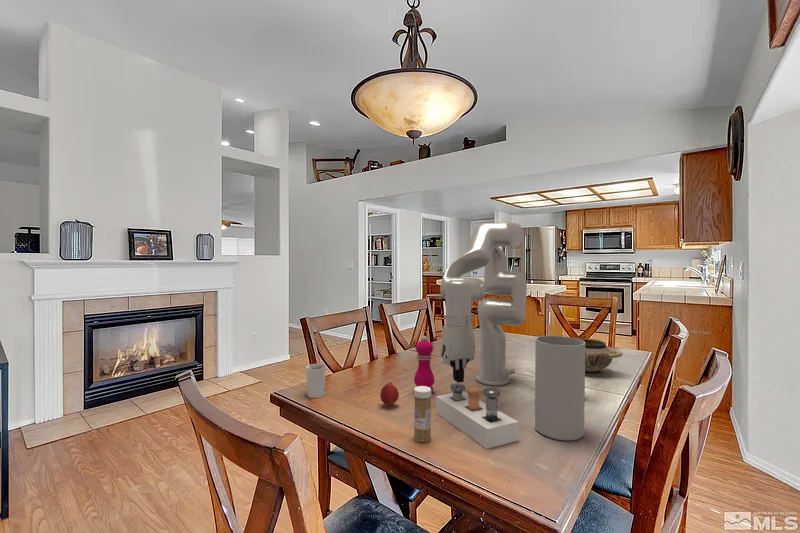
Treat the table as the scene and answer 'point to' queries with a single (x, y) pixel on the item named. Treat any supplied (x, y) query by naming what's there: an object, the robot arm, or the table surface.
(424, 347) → the pepper mill
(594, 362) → the ceramic bowl
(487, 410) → the grey plug
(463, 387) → the grey plug
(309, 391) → the drinking glass
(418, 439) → the sprinkles bottle
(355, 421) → the table surface
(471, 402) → the rust plug
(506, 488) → the table surface
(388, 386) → the onion
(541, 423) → the cylinder vase
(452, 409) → the block
